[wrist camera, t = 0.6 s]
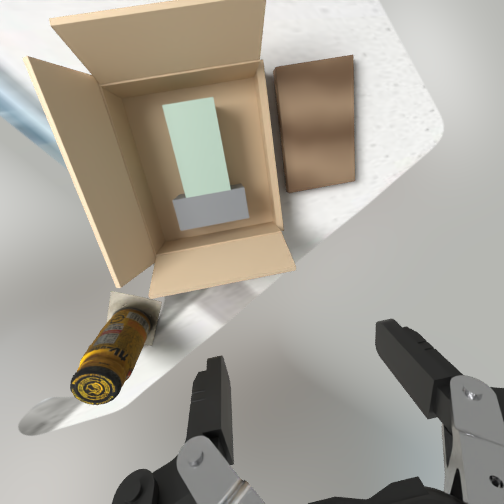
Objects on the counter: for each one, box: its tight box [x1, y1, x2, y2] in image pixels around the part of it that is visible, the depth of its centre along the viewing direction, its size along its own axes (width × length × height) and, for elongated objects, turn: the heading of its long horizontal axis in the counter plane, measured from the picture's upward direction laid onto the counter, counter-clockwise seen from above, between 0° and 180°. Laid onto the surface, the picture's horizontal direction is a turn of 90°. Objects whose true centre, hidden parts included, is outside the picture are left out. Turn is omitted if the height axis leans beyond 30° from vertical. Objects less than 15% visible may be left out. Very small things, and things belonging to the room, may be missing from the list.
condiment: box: [70, 291, 162, 405], centre depth 33 cm, size 7×8×12 cm
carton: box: [22, 0, 296, 299], centre depth 27 cm, size 22×18×12 cm
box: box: [162, 97, 249, 231], centre depth 29 cm, size 12×8×5 cm, turn 9°
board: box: [273, 55, 355, 193], centre depth 31 cm, size 14×9×2 cm, turn 9°
